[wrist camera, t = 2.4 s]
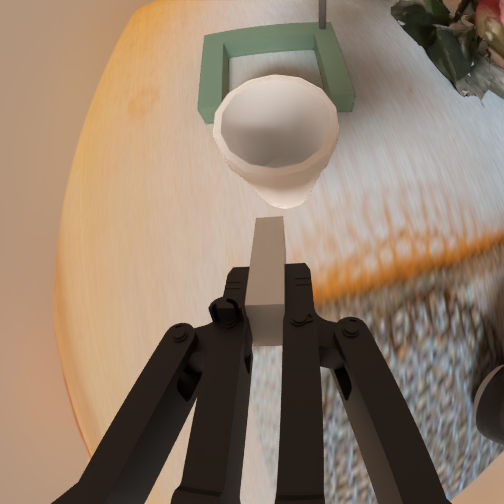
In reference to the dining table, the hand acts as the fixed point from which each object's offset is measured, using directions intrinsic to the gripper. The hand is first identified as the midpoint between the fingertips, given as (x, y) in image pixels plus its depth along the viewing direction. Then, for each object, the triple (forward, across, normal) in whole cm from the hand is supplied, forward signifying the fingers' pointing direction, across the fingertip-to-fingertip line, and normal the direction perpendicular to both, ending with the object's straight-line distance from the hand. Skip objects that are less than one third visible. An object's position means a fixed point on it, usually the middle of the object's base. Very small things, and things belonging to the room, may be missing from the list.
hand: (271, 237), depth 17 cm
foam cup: (+17, +1, -4) cm, 18 cm away
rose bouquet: (+36, +38, +15) cm, 55 cm away
